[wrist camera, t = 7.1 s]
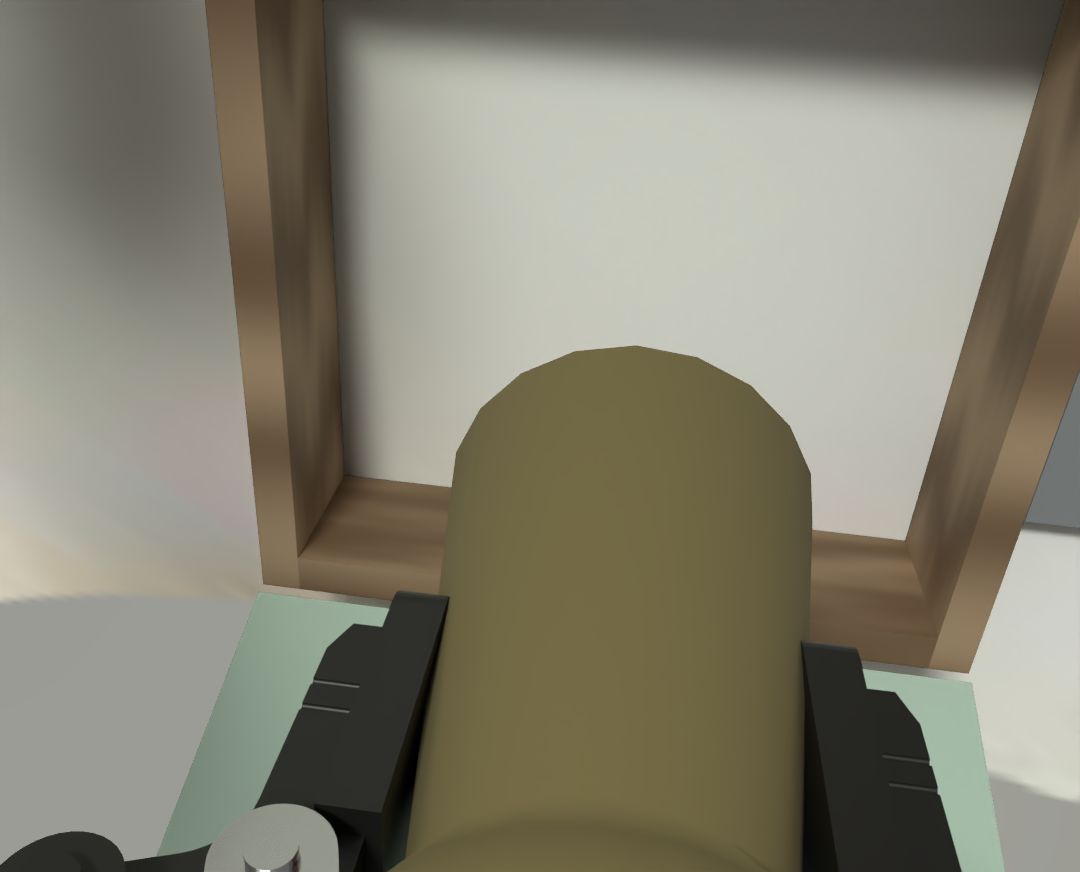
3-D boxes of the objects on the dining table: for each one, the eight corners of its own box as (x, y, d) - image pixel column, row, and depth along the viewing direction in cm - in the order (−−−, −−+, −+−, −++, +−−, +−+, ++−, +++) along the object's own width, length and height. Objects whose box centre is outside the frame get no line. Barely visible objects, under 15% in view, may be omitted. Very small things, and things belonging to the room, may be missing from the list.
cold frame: (266, -226, 25) (180, -247, 21) (1168, -171, 24) (1278, -181, 19) (313, 499, 36) (263, 583, 32) (932, 573, 34) (968, 673, 30)
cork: (378, 460, 17) (-11, 1236, 7) (686, 272, 14) (703, 1046, 5) (582, 693, 19) (486, 1532, 9) (880, 560, 17) (1153, 1492, 7)
